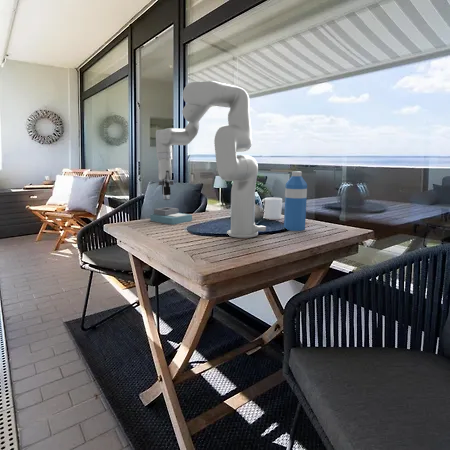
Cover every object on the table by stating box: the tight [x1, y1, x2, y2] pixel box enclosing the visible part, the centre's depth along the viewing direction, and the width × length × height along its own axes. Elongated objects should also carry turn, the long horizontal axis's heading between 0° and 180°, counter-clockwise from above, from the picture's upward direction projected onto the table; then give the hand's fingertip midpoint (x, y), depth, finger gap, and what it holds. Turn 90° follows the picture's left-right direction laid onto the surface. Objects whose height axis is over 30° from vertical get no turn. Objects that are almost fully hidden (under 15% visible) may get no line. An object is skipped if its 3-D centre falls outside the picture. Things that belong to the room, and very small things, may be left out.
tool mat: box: [168, 212, 187, 217], centre depth 164 cm, size 6×7×1 cm
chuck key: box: [157, 180, 174, 201], centre depth 166 cm, size 7×3×9 cm, turn 111°
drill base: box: [149, 206, 193, 226], centre depth 168 cm, size 18×13×6 cm
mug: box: [261, 197, 283, 221], centre depth 174 cm, size 11×9×10 cm
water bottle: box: [283, 170, 308, 232], centre depth 147 cm, size 9×9×25 cm
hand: (166, 194), depth 167 cm, fingers closed on chuck key, 3 cm apart
